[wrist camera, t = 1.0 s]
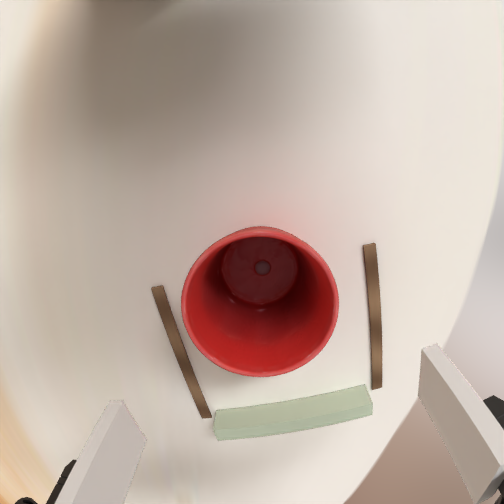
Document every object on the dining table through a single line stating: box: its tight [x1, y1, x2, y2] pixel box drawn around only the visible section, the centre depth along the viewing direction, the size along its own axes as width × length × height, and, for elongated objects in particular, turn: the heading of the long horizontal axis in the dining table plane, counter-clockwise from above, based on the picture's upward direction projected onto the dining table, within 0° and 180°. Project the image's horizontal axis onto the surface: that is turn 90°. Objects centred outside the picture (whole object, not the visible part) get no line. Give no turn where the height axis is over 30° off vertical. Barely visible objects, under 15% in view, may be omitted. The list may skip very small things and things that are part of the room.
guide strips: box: [151, 243, 382, 418], centre depth 32 cm, size 18×22×1 cm
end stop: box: [213, 384, 373, 441], centre depth 33 cm, size 2×18×4 cm, turn 102°
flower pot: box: [181, 226, 339, 377], centre depth 25 cm, size 11×11×10 cm
